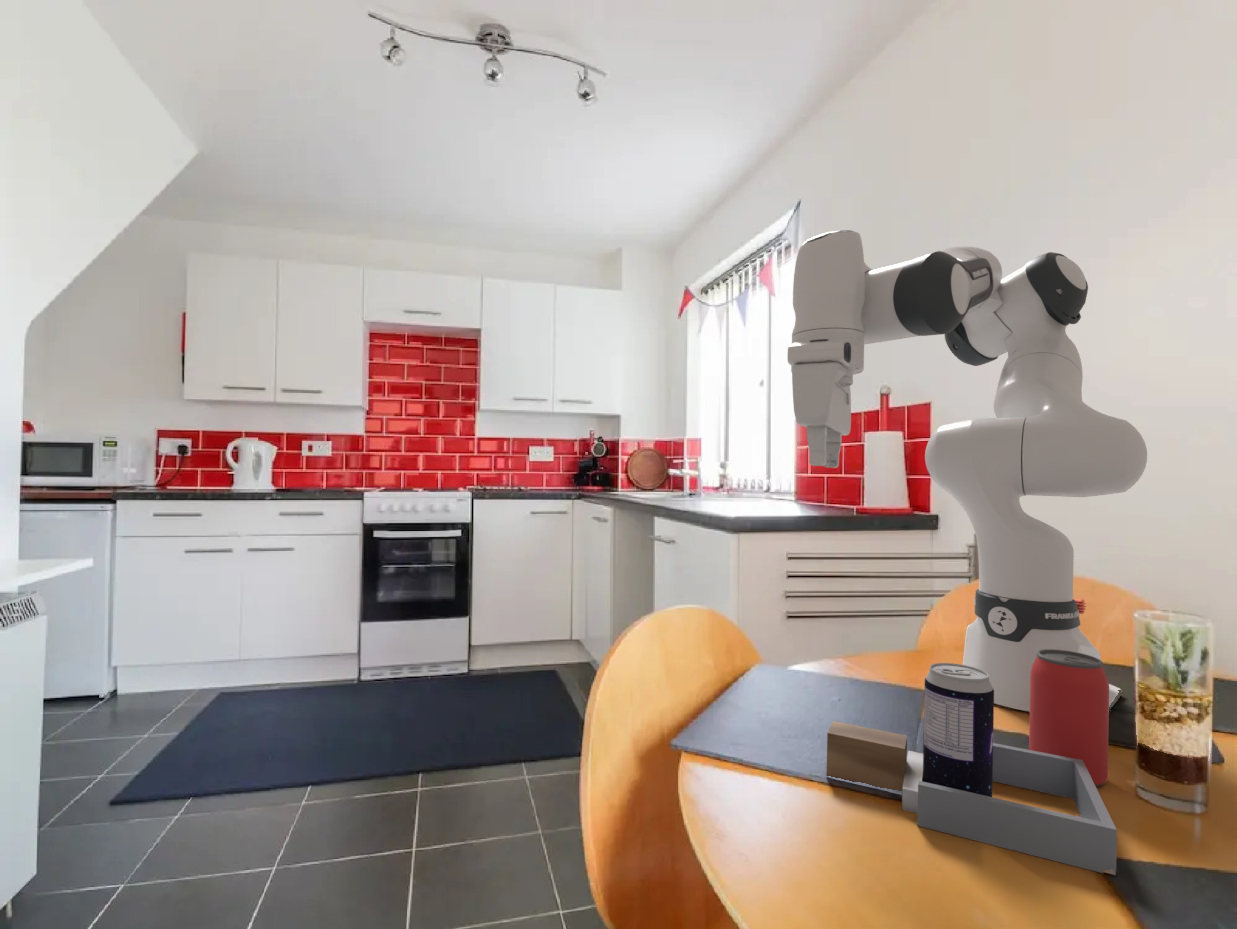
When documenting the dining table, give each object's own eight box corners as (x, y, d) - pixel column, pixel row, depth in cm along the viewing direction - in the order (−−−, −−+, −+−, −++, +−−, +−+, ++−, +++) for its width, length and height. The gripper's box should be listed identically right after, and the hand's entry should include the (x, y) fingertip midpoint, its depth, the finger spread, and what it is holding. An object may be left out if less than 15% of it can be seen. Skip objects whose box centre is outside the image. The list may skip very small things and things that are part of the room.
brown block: (836, 754, 68) (837, 712, 68) (923, 773, 64) (924, 729, 64) (821, 790, 60) (822, 743, 60) (920, 815, 56) (921, 764, 56)
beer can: (1073, 793, 60) (1075, 667, 61) (1013, 762, 67) (1015, 649, 67) (1124, 786, 62) (1126, 664, 62) (1061, 757, 68) (1063, 646, 69)
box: (922, 763, 66) (923, 729, 66) (1082, 797, 60) (1082, 760, 60) (917, 825, 54) (918, 784, 54) (1116, 876, 48) (1116, 829, 48)
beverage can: (1003, 820, 55) (1005, 682, 55) (934, 813, 56) (936, 677, 56) (976, 788, 61) (979, 663, 61) (914, 782, 62) (916, 659, 62)
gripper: (816, 372, 91) (814, 468, 91) (784, 345, 73) (781, 464, 73) (863, 370, 88) (861, 469, 88) (841, 341, 70) (838, 465, 70)
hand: (824, 466), depth 80 cm, fingers open, 8 cm apart
